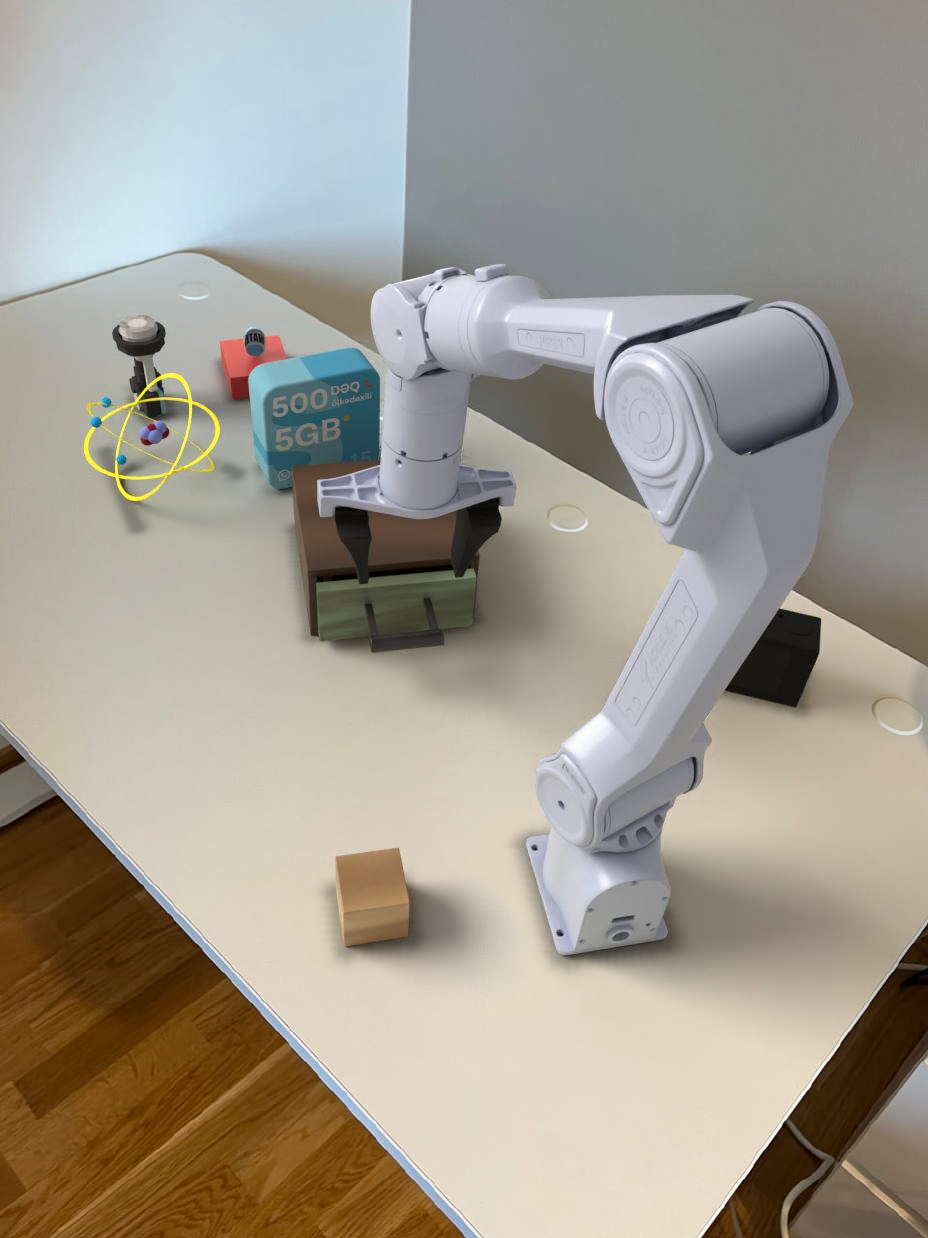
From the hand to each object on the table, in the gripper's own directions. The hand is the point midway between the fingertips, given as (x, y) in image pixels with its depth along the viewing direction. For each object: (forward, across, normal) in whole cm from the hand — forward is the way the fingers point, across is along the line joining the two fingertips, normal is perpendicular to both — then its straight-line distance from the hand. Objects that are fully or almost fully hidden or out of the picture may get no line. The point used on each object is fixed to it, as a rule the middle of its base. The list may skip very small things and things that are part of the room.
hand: (409, 571), depth 85 cm
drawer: (+10, 0, -6) cm, 11 cm away
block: (+9, +6, +24) cm, 26 cm away
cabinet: (+11, 0, -11) cm, 15 cm away
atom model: (+13, +20, -28) cm, 37 cm away
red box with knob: (+14, +9, -46) cm, 49 cm away
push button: (+14, +21, -42) cm, 49 cm away
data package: (+12, +4, -28) cm, 31 cm away
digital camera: (+9, -29, +6) cm, 31 cm away
